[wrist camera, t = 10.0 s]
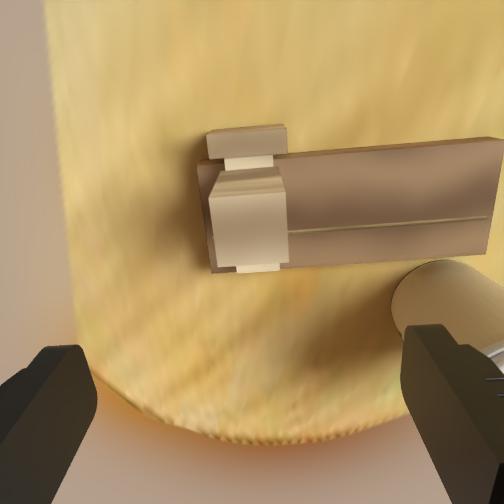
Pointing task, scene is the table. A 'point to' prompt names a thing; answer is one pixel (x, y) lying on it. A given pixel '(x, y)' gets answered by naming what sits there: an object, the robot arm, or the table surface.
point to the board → (380, 201)
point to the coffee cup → (454, 305)
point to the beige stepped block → (249, 198)
